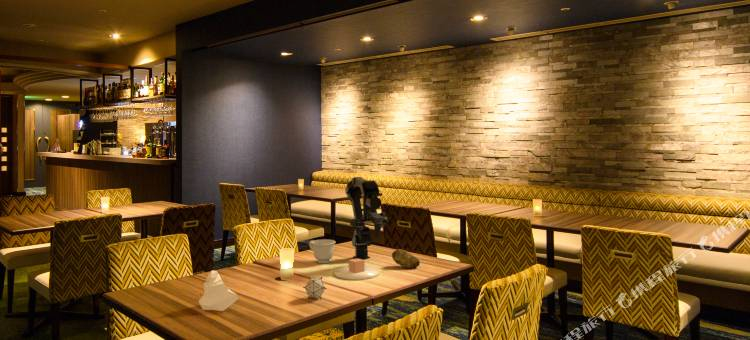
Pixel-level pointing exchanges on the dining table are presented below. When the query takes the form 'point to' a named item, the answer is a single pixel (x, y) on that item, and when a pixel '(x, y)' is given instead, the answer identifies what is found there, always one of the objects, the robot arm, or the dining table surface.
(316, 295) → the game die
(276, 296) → the dining table surface
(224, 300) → the cream irregular lump
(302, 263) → the dining table surface
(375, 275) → the plate
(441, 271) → the dining table surface
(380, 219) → the robot arm
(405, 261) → the potato
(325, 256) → the teacup
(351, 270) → the block
